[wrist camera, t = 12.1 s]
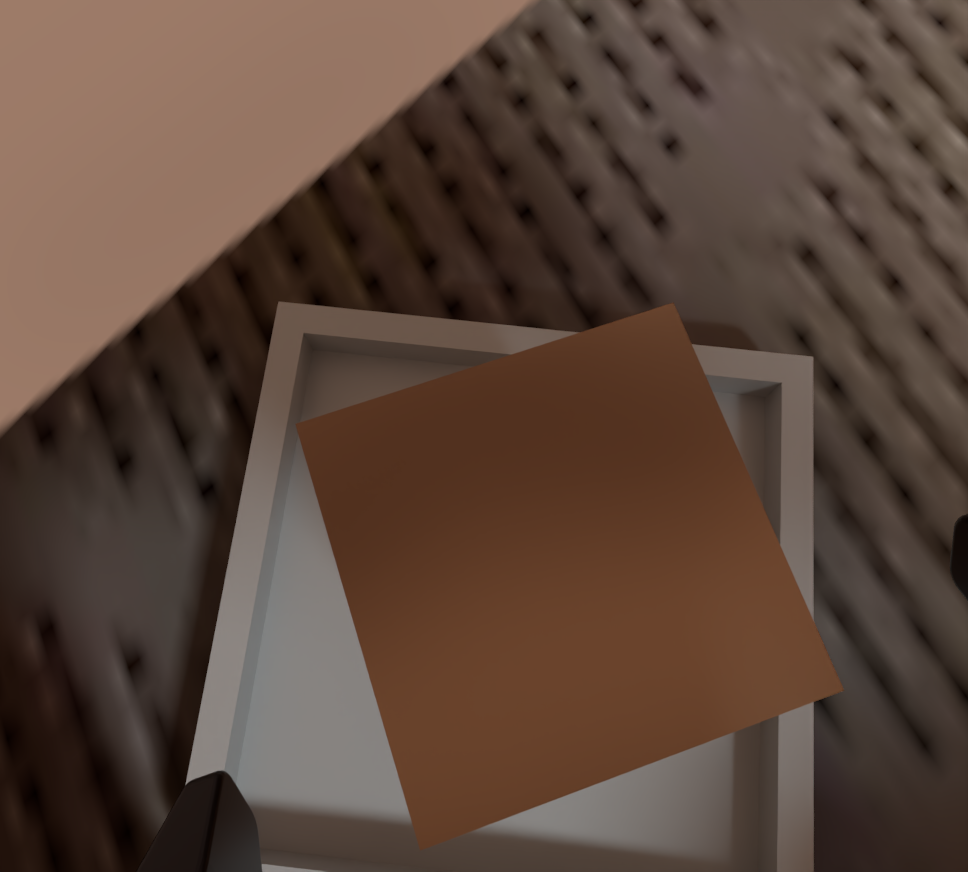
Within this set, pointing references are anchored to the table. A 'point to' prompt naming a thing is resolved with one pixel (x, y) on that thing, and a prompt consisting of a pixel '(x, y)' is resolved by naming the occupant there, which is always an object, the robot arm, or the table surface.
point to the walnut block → (558, 571)
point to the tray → (345, 680)
